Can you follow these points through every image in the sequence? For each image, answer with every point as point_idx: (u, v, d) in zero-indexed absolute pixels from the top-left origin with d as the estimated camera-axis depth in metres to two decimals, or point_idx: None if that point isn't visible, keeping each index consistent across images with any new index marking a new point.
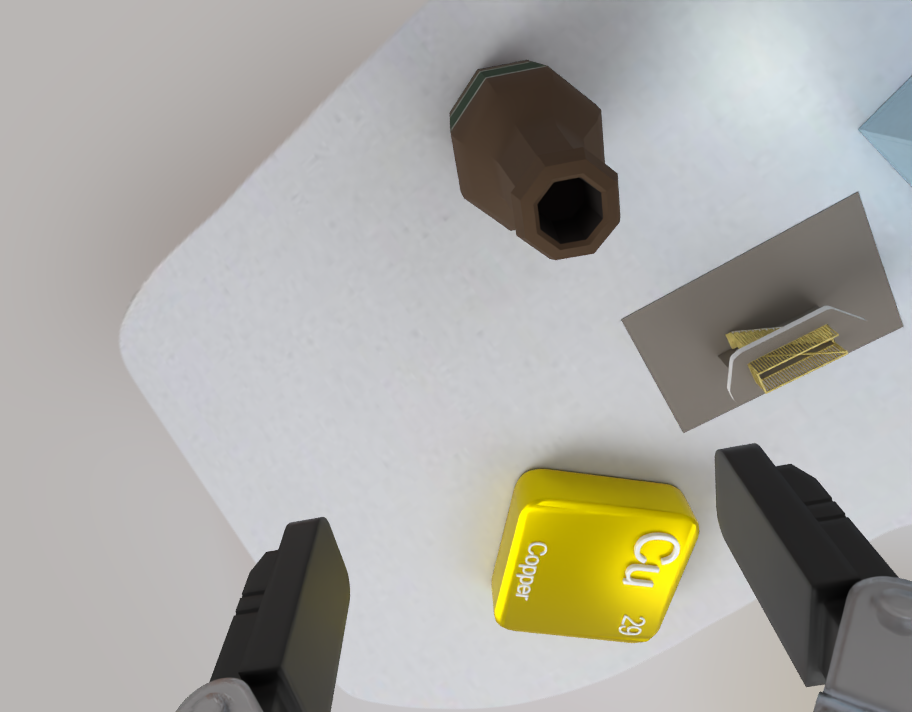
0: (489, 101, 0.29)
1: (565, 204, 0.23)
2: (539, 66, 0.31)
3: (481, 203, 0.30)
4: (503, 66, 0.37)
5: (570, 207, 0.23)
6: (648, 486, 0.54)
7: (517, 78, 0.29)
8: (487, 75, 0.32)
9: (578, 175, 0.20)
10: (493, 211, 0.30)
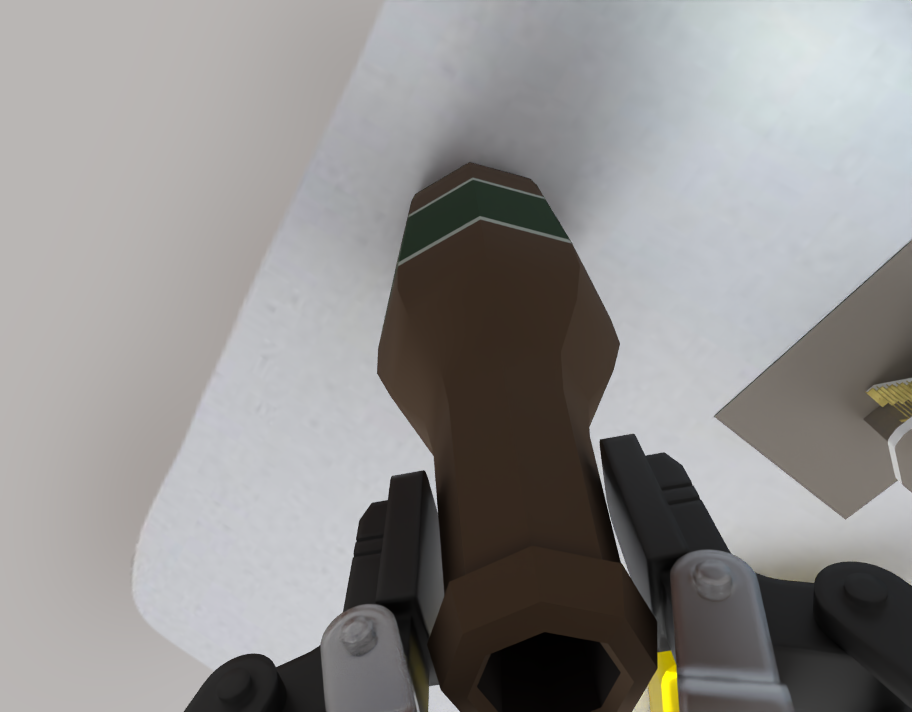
0: (402, 324, 0.18)
1: None
2: (471, 217, 0.20)
3: None
4: (438, 195, 0.26)
5: None
6: None
7: (435, 269, 0.18)
8: (405, 248, 0.22)
9: (536, 633, 0.09)
10: None
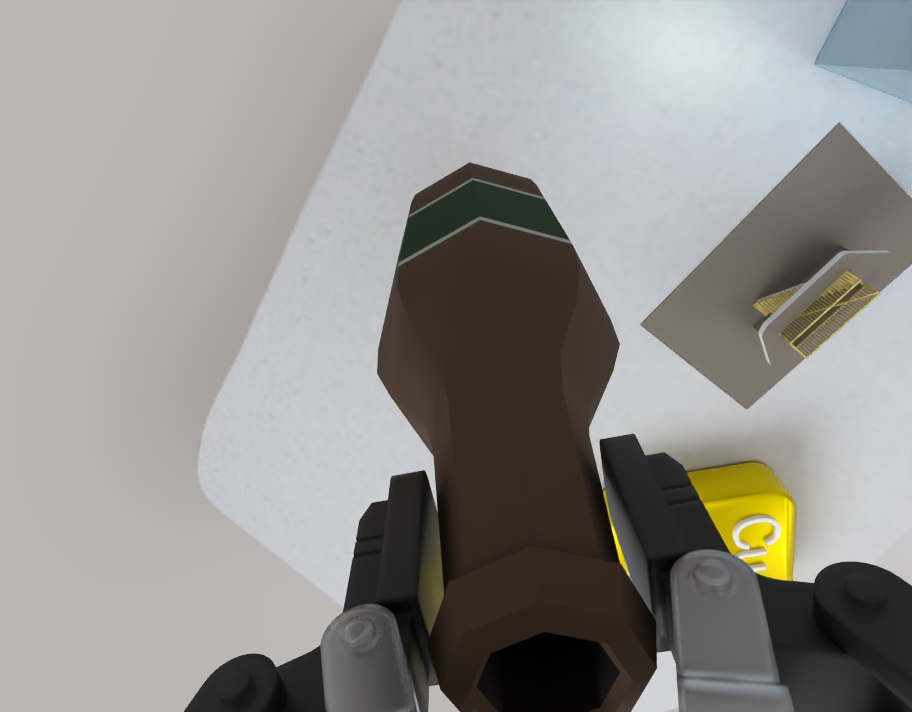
0: (402, 325, 0.18)
1: None
2: (471, 217, 0.20)
3: None
4: (438, 196, 0.26)
5: None
6: (729, 471, 0.53)
7: (435, 269, 0.18)
8: (405, 248, 0.22)
9: (536, 633, 0.09)
10: None
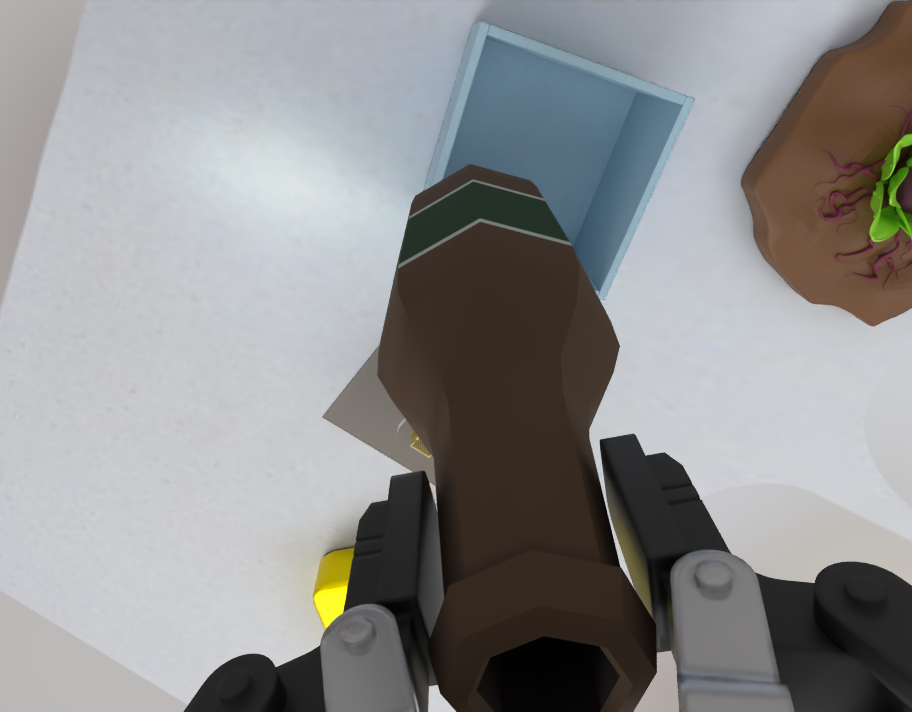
0: (402, 327, 0.18)
1: None
2: (471, 219, 0.20)
3: None
4: (438, 197, 0.26)
5: None
6: None
7: (435, 271, 0.18)
8: (405, 250, 0.22)
9: (536, 638, 0.09)
10: None
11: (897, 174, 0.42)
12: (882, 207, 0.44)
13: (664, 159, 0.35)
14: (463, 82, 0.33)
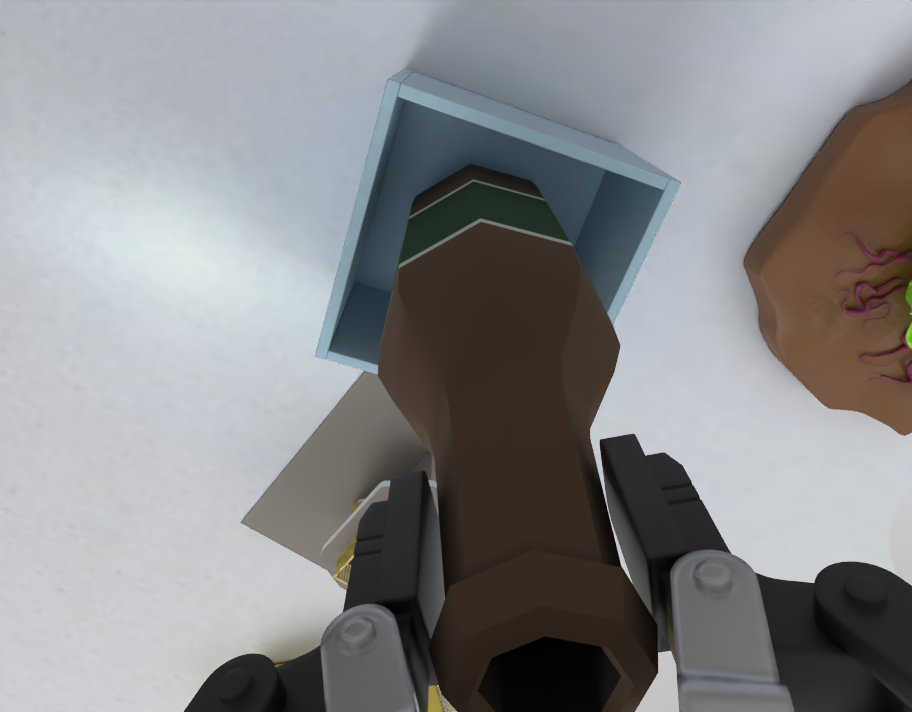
0: (403, 327, 0.18)
1: None
2: (471, 219, 0.20)
3: None
4: (438, 197, 0.26)
5: None
6: None
7: (436, 271, 0.18)
8: (405, 250, 0.22)
9: (537, 638, 0.09)
10: None
11: None
12: None
13: (640, 258, 0.27)
14: (368, 158, 0.25)
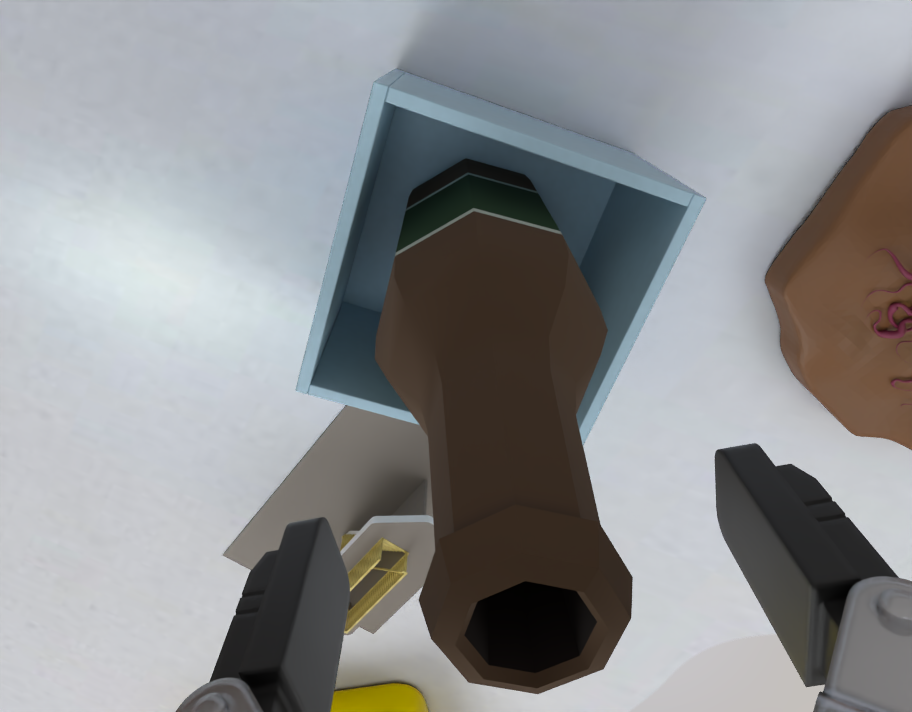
0: (398, 311, 0.19)
1: None
2: (465, 209, 0.21)
3: None
4: (434, 190, 0.27)
5: None
6: (364, 696, 0.47)
7: (430, 258, 0.19)
8: (402, 239, 0.23)
9: (518, 583, 0.10)
10: None
11: None
12: None
13: (659, 282, 0.24)
14: (352, 171, 0.22)
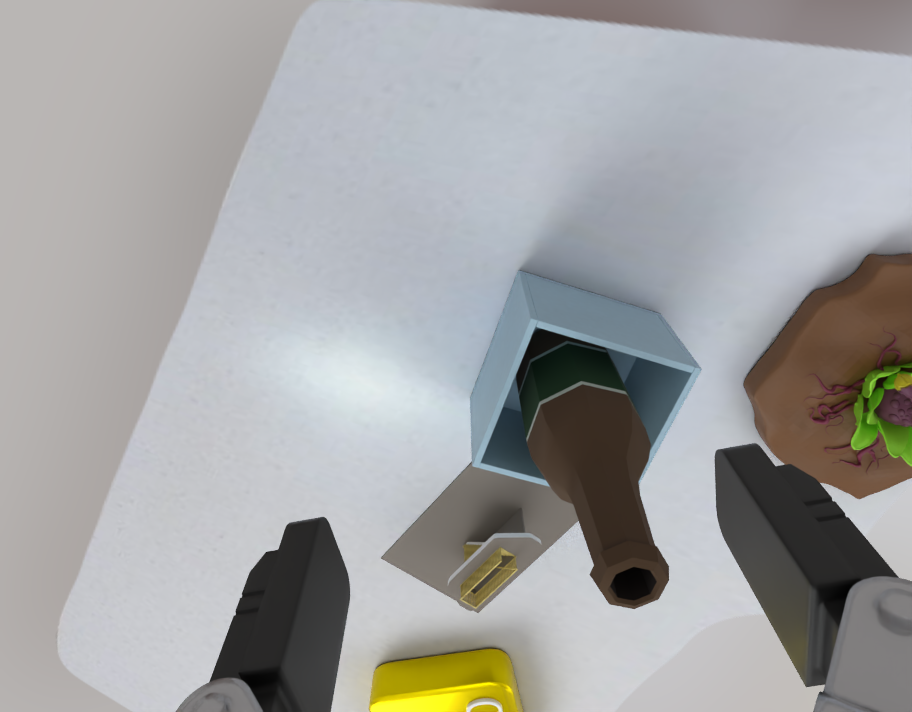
0: (550, 440, 0.39)
1: None
2: (576, 380, 0.41)
3: None
4: (546, 348, 0.47)
5: None
6: (470, 657, 0.67)
7: (564, 412, 0.39)
8: (539, 391, 0.43)
9: (631, 567, 0.30)
10: None
11: (875, 393, 0.50)
12: (864, 411, 0.52)
13: (677, 409, 0.44)
14: (515, 358, 0.42)
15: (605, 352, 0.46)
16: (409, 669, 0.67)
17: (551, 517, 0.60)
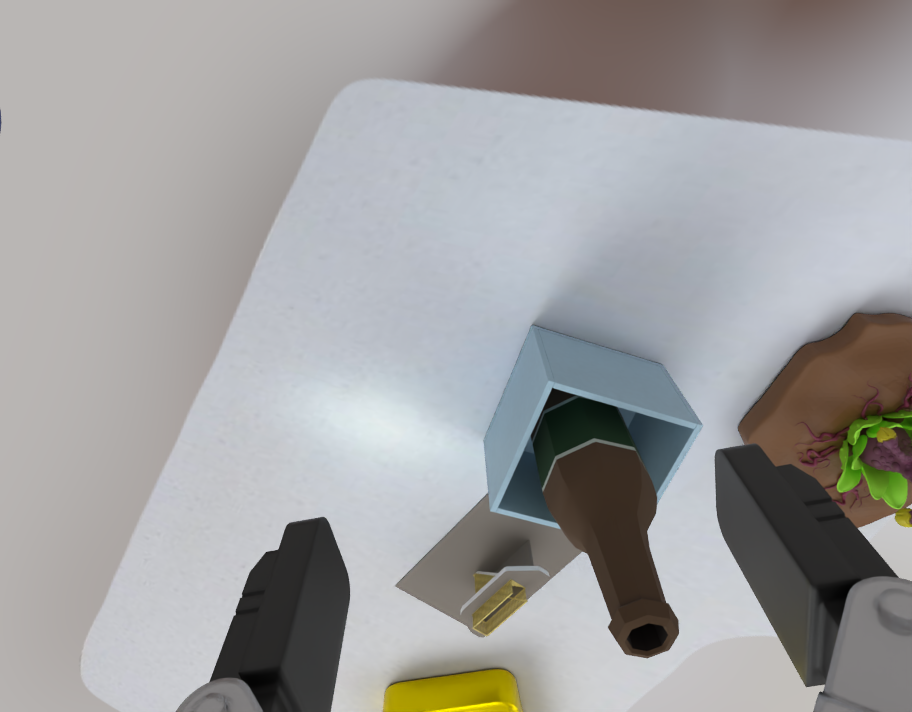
0: (566, 494, 0.43)
1: None
2: (589, 436, 0.45)
3: None
4: (558, 401, 0.51)
5: None
6: (477, 677, 0.70)
7: (579, 469, 0.43)
8: (554, 445, 0.46)
9: (645, 623, 0.34)
10: None
11: (859, 440, 0.54)
12: (848, 455, 0.56)
13: (679, 461, 0.47)
14: (533, 415, 0.46)
15: None
16: (419, 689, 0.70)
17: (557, 549, 0.64)
